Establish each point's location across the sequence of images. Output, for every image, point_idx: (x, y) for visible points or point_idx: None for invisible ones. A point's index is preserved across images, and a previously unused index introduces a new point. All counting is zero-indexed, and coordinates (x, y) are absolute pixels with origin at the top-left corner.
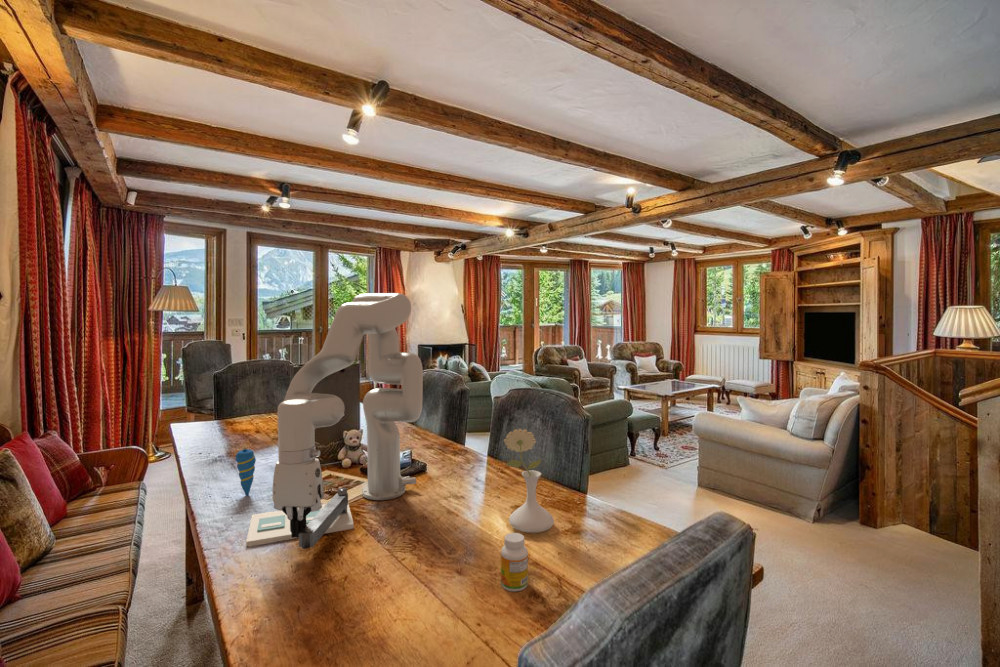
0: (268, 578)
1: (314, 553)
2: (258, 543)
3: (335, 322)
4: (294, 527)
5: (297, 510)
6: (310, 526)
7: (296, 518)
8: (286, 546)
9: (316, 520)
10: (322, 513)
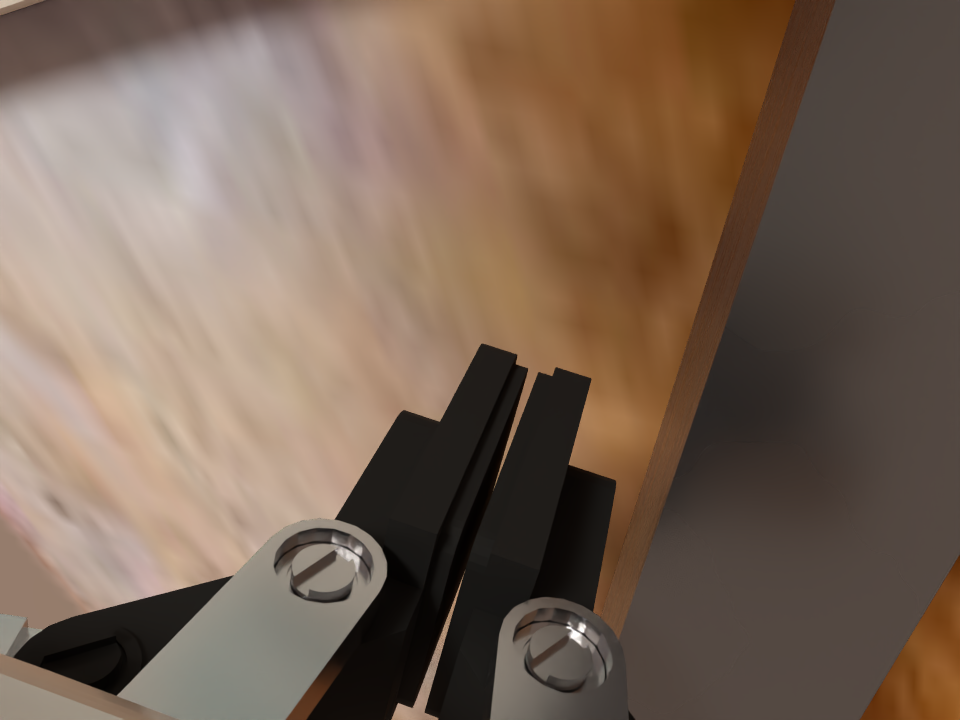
0: None
1: None
2: (2, 12)
3: None
4: (442, 626)
5: (346, 653)
6: (704, 666)
7: (410, 646)
8: (363, 118)
9: (798, 485)
10: (945, 126)
